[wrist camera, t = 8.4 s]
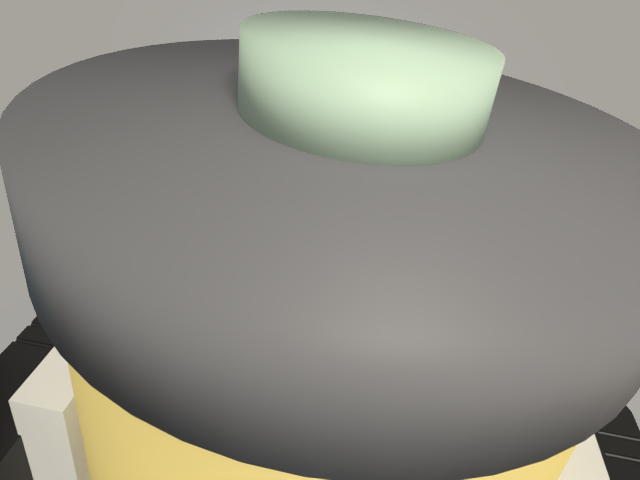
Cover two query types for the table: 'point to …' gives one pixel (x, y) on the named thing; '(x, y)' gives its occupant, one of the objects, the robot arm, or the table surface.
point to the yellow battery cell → (327, 255)
